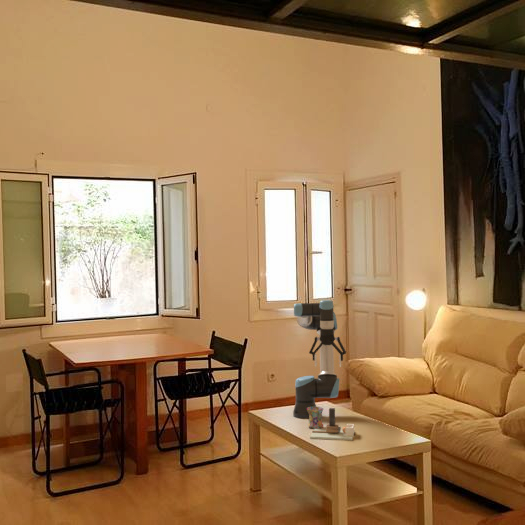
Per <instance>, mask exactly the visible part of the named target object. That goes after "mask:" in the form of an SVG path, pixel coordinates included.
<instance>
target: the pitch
mask: <svg viewBox="0 0 525 525" xmlns="http://www.w3.org/2000/svg"><path fill="white" fill-rule="evenodd" d="M355 431H356V430H355V429H354V434H353V436H349V435H345V433H344V432H343V430H342V429H341V431H340V432H338V433H335V432H326V428H313V430H312V433H311V434H310V437H309V439H313V440H333V441H337V440H338V441H353V440H354V436H355V433H356V432H355Z"/></svg>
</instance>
